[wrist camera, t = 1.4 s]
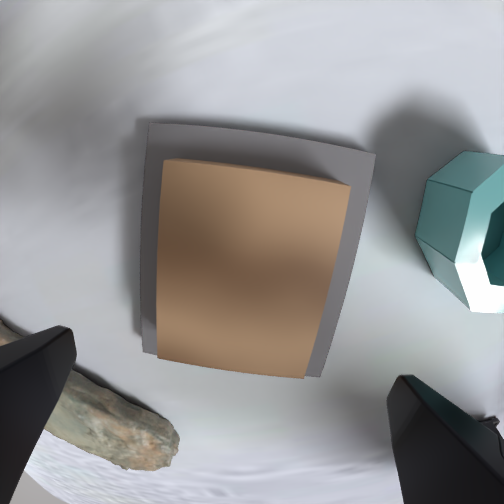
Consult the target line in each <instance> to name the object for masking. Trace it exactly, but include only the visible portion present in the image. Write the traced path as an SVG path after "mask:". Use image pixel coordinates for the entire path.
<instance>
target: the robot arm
mask: <svg viewBox="0 0 504 504" xmlns="http://www.w3.org/2000/svg"><path fill="white" fill-rule="evenodd" d="M76 357H77V351H76V346H75V341H74V336H73V332H72V330H71V329H70V328H68V327H64V326H61V325H58V326H55V327H52V328H49V329H46V330H44V331H41V332H38V333H35V334H32V335H30V336H27V337H24V338H21V339H18V340H16V341H13V342H10V343H7V344H5V345H2V346H0V504H9V503H10V501H11V498H12V496H13V493H14V491H15V489H16V487H17V484H18V482H19V480H20V477H21V475H22V473H23V471H24V469H25V466H26V464H27V462H28V460H29V458H30V456H31V454H32V451H33V449H34V447H35V445H36V443H37V441H38V439H39V437H40V435H41V433H42V431H43V429H44V427H45V425H46V423H47V422H48V420H49V418H50V416H51V414H52V412H53V410H54V408H55V406H56V404H57V402H58V400H59V398H60V396H61V394H62V391H63V389H64V386H65V384H66V381H67V379H68V377H69V374H70V372H71V370H72V367H73V365H74V363H75V361H76ZM387 409H388V417H389V424H390V433H391V441H392V448H393V453H394V457H395V462H396V467H397V471H398V476H399V481H400V486H401V491H402V496H403V502H404V504H504V439H503V438H502V436H501V435H500V433H499V431H498V430H497V428H496V427H497V425H498V424H499V422H500V421H499V419H498V418H496V419H491V420H487V421H483V422H478V421H477V420H475V419H474V418H473V417H471V416H470V415H468V414H467V413H466V412H464V411H463V410H461V409H460V408H459V407H457V406H456V405H454V404H453V403H452V402H450V401H449V400H447V399H446V398H445V397H443V396H442V395H440V394H439V393H438V392H436V391H435V390H433V389H432V388H431V387H429V386H428V385H426V384H425V383H424V382H422V381H421V380H419V379H418V378H417V377H415V376H414V375H399V376H398V377H397V379H396V381H395V383H394V385H393V387H392V389H391V391H390V393H389V395H388V397H387Z"/></svg>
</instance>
